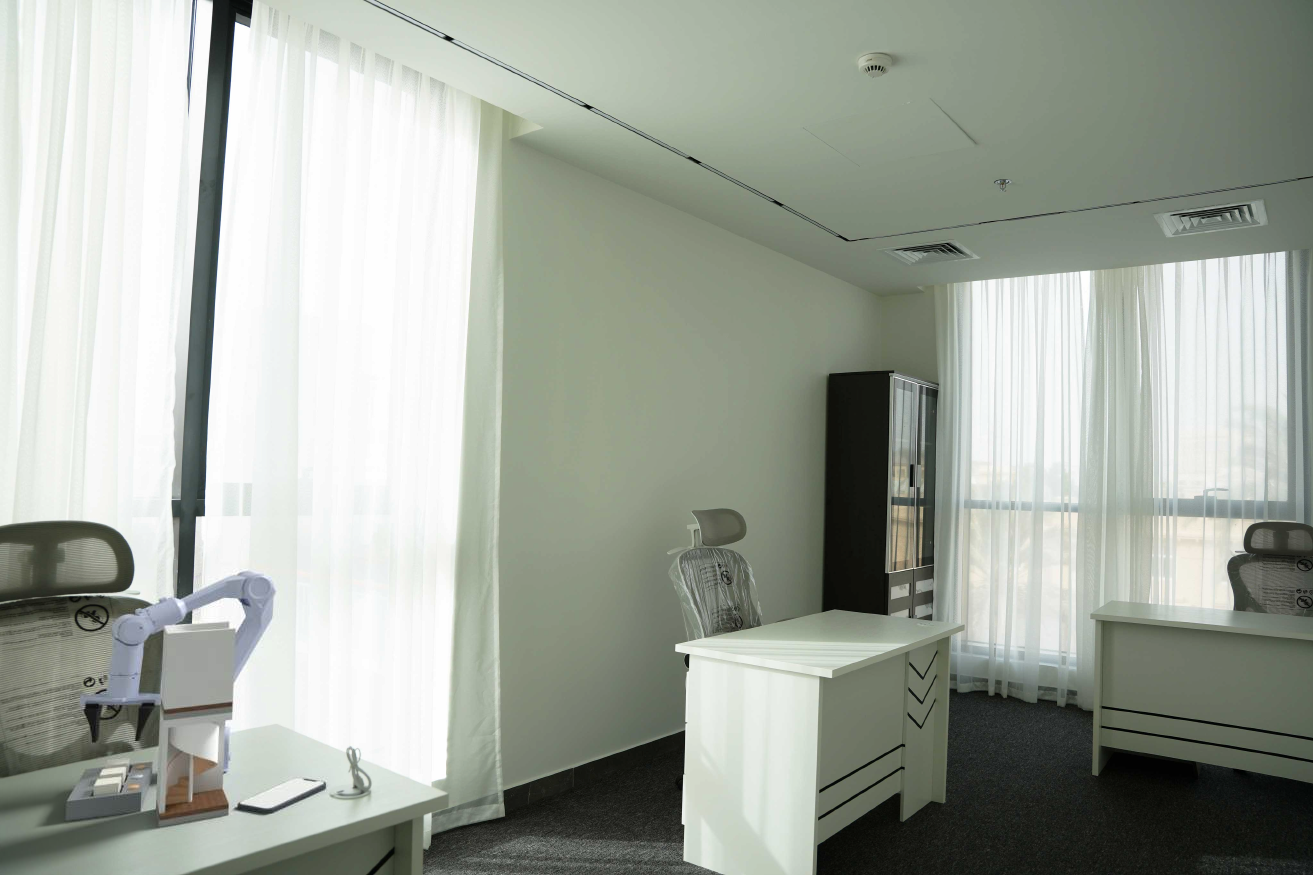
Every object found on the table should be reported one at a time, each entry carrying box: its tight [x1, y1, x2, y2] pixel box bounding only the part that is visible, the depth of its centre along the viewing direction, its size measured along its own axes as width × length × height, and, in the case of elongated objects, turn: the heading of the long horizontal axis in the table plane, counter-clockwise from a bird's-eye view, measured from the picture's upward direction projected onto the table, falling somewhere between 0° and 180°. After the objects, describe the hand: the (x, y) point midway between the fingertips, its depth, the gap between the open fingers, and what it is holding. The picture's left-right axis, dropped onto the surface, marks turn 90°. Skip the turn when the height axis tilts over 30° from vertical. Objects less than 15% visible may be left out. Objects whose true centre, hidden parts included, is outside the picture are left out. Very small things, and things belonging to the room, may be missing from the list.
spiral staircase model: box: [155, 621, 237, 828], centre depth 164 cm, size 11×11×35 cm
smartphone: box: [237, 777, 327, 815], centre depth 171 cm, size 9×2×16 cm
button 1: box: [93, 777, 122, 796], centre depth 164 cm, size 4×4×3 cm
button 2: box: [104, 757, 131, 773], centre depth 176 cm, size 4×4×3 cm
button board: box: [65, 761, 153, 822], centre depth 170 cm, size 12×20×4 cm, turn 25°
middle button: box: [99, 767, 126, 783], centre depth 170 cm, size 4×4×3 cm
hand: (116, 740), depth 176 cm, fingers open, 7 cm apart
